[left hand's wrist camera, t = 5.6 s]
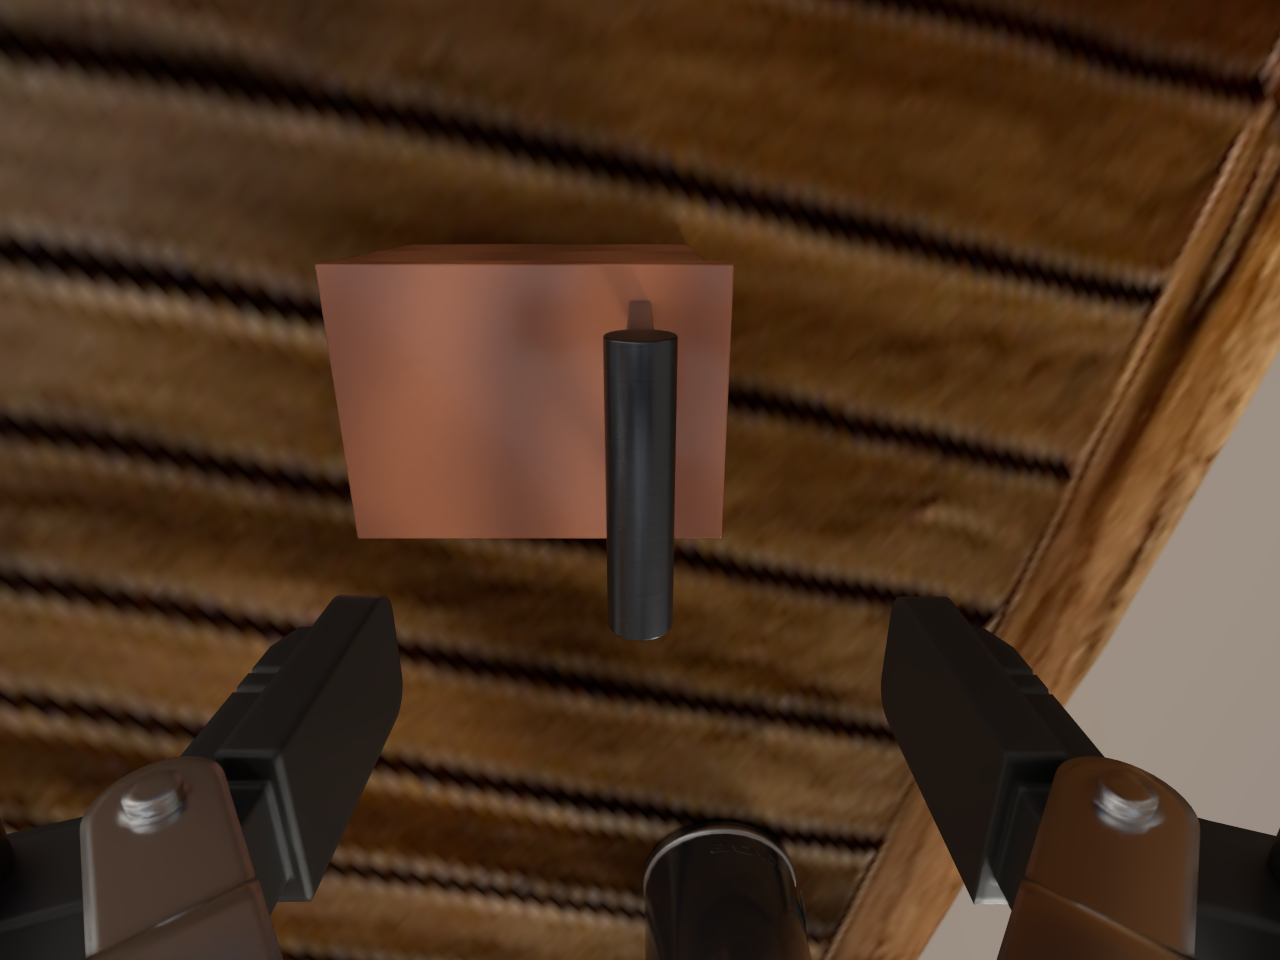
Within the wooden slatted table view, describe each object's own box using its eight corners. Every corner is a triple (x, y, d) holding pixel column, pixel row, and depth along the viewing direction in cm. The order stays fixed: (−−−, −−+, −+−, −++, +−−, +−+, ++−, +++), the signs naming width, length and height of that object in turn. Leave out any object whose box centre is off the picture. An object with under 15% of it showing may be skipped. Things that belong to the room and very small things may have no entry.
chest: (688, 244, 32) (706, 260, 24) (684, 446, 35) (697, 523, 27) (411, 243, 32) (331, 260, 24) (433, 446, 35) (370, 523, 27)
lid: (729, 260, 24) (780, 296, 15) (718, 523, 27) (754, 673, 18) (330, 260, 24) (156, 296, 15) (369, 523, 27) (246, 673, 18)
